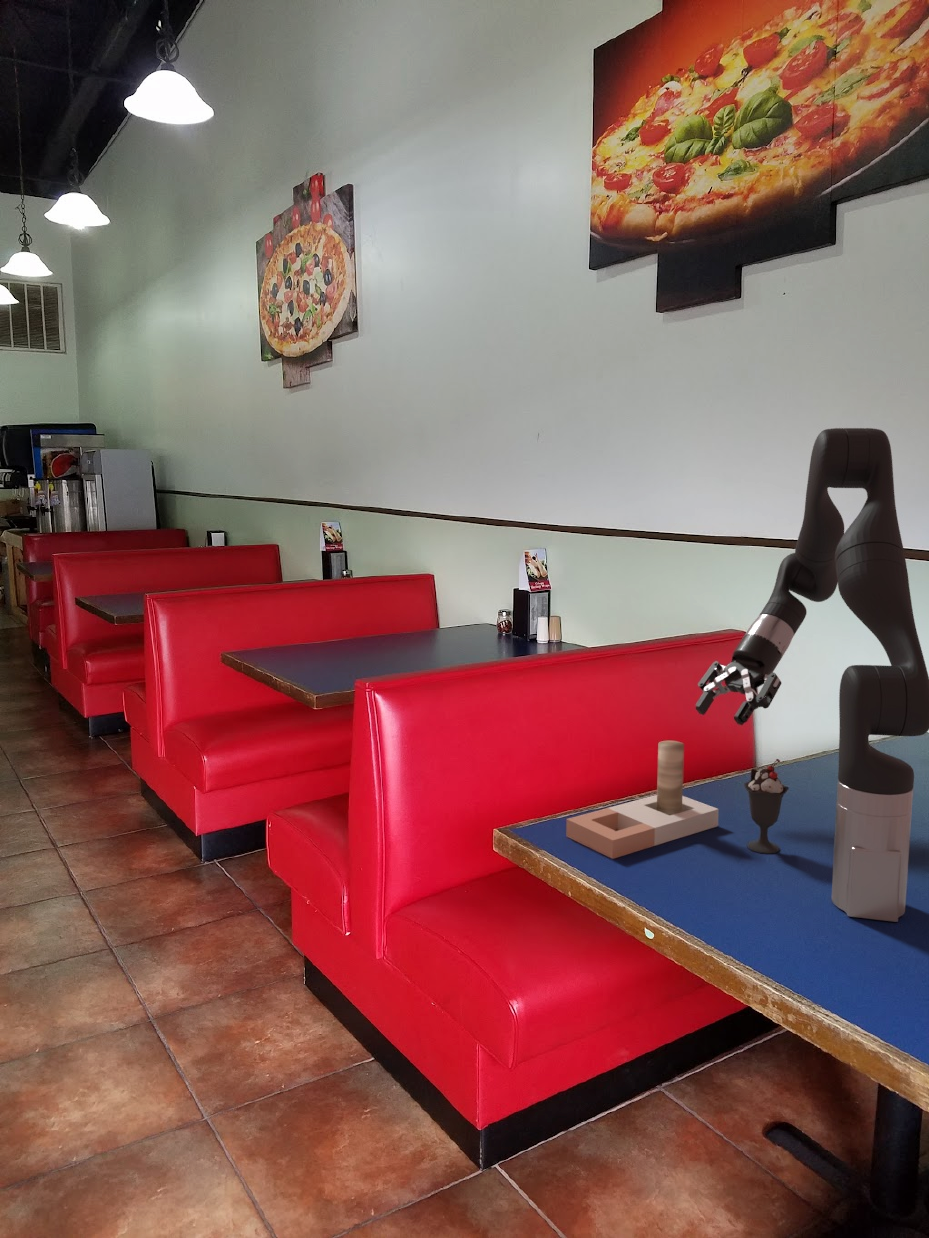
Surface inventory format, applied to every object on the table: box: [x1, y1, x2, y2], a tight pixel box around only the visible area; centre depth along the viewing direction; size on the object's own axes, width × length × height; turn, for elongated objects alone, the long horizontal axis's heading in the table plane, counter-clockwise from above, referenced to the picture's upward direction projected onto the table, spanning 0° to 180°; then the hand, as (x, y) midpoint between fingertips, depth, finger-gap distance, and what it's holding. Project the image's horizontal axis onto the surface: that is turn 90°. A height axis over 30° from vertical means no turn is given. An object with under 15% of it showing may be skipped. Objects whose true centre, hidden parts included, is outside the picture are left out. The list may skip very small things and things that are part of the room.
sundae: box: [743, 758, 790, 855], centre depth 142 cm, size 7×7×15 cm
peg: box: [656, 740, 685, 815], centre depth 153 cm, size 4×4×14 cm
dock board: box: [565, 794, 720, 860], centre depth 150 cm, size 24×11×3 cm, turn 124°
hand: (718, 717), depth 157 cm, fingers open, 8 cm apart
